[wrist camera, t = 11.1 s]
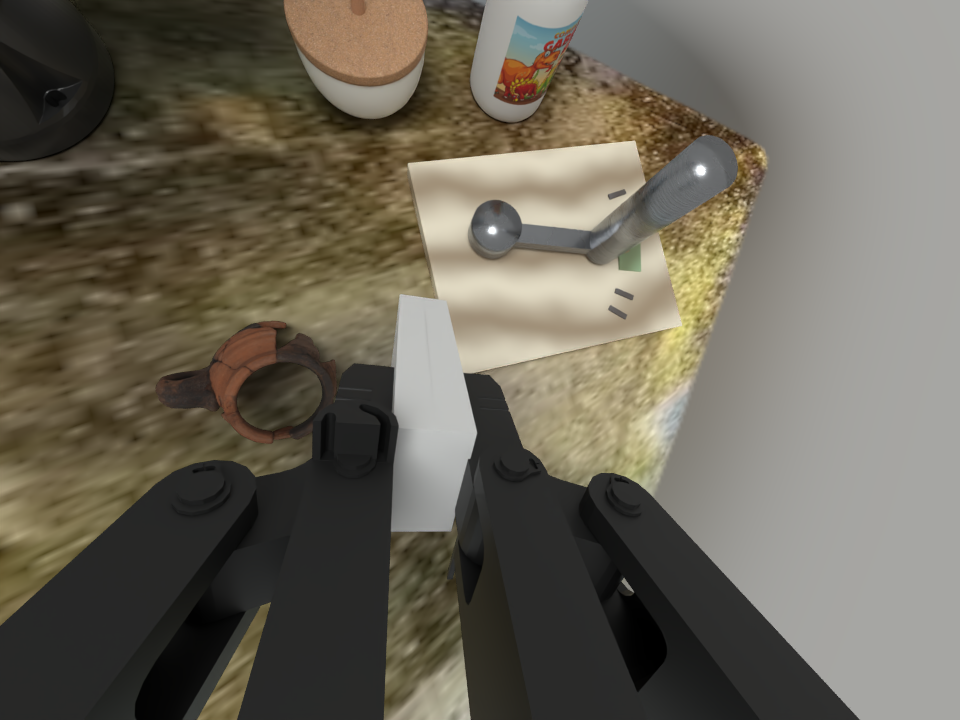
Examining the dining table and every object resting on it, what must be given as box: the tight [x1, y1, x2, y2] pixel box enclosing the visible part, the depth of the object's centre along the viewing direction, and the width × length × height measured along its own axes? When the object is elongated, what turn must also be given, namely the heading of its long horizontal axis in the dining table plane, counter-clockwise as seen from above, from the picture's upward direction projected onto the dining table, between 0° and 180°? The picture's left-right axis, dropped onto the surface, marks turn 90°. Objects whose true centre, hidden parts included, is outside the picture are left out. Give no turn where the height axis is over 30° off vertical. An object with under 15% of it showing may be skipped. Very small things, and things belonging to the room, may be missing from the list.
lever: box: [468, 135, 738, 264], centre depth 30 cm, size 16×4×14 cm, turn 89°
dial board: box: [407, 141, 682, 374], centre depth 38 cm, size 20×24×2 cm
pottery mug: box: [156, 321, 337, 444], centre depth 31 cm, size 12×10×8 cm
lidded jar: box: [284, 0, 428, 119], centre depth 33 cm, size 11×11×9 cm
